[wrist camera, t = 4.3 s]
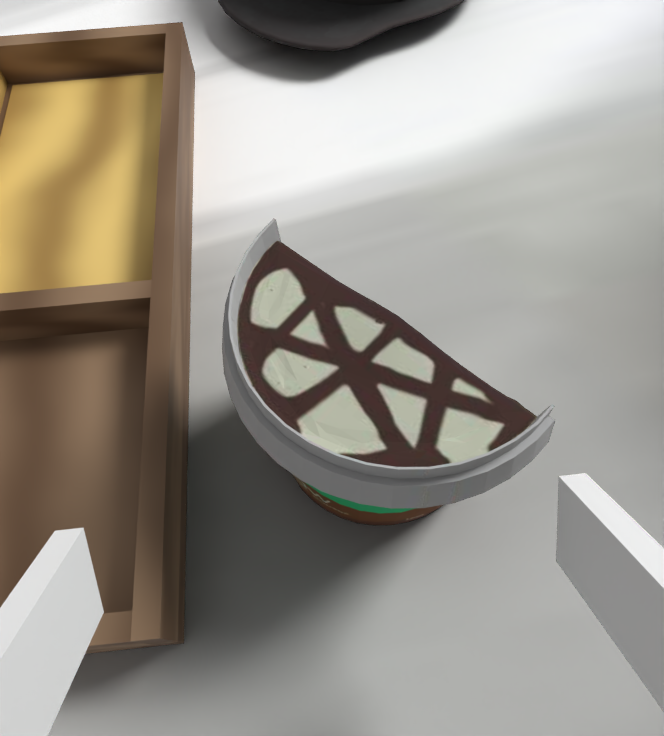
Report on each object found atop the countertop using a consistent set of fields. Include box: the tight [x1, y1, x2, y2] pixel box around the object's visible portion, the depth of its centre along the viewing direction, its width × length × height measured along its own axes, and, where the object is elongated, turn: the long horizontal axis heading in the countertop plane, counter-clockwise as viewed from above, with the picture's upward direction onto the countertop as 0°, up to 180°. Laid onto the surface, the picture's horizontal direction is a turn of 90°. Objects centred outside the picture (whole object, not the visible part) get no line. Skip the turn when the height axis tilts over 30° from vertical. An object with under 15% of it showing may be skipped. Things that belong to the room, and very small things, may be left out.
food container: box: [222, 219, 555, 525], centre depth 22 cm, size 12×6×10 cm, turn 49°
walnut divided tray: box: [0, 22, 195, 654], centre depth 30 cm, size 13×36×4 cm, turn 6°
